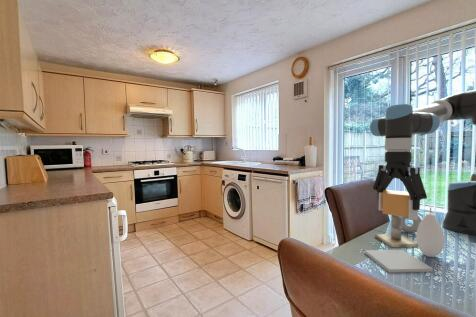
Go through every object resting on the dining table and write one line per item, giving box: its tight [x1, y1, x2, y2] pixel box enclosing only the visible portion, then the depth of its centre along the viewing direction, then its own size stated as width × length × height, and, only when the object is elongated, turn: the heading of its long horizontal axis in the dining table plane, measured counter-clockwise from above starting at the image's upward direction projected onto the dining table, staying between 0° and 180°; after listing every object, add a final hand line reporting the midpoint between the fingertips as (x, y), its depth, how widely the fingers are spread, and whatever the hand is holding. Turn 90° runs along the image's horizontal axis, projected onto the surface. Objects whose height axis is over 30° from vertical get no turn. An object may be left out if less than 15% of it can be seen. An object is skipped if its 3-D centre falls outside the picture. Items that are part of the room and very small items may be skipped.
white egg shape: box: [415, 206, 445, 258], centre depth 86 cm, size 8×8×18 cm
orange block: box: [382, 189, 411, 217], centre depth 81 cm, size 8×8×7 cm
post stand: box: [374, 215, 419, 248], centre depth 99 cm, size 11×11×11 cm
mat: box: [364, 249, 434, 273], centre depth 82 cm, size 14×14×1 cm
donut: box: [402, 215, 422, 234], centre depth 110 cm, size 10×3×10 cm, turn 47°
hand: (396, 214), depth 81 cm, fingers closed on orange block, 11 cm apart
